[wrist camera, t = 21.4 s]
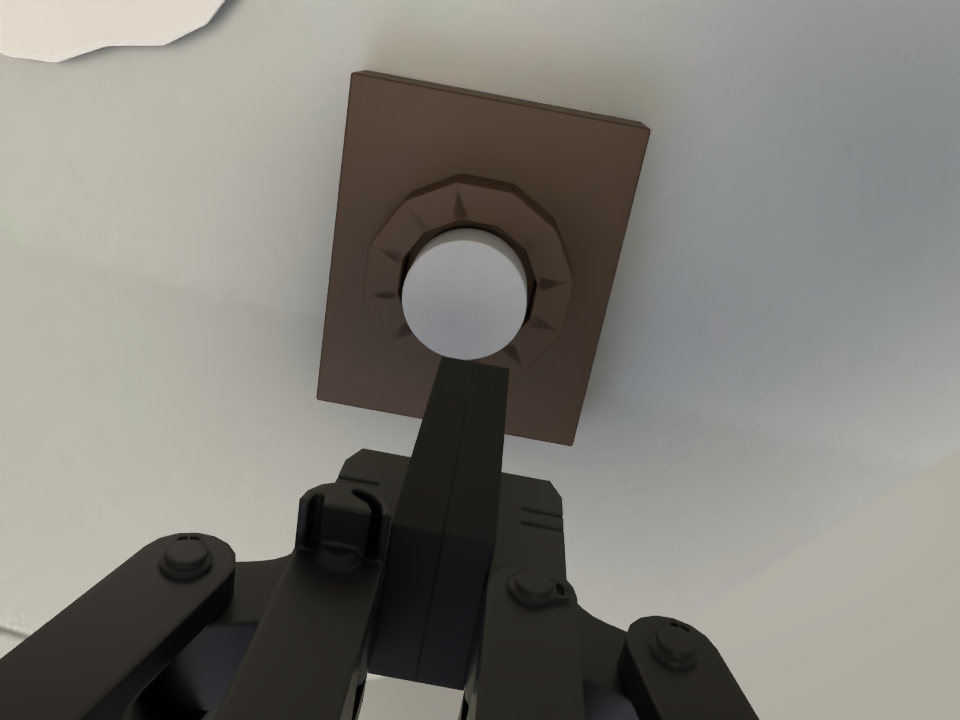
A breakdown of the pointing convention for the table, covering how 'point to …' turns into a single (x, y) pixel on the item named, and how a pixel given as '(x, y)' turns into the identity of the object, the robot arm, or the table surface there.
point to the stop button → (465, 294)
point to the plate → (95, 25)
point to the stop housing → (485, 206)
